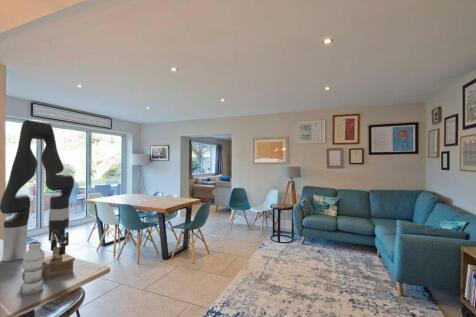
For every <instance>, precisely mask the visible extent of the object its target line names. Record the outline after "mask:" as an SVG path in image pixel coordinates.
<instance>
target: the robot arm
mask: <svg viewBox="0 0 476 317" xmlns="http://www.w3.org/2000/svg"><path fill="white" fill-rule="evenodd" d="M32 140H43V141H44V143H45V146H44V149H43V151H42V152H41V157H40V159H41V164H42V165H43V167H44V170H45V187H46V188H47V189H48V190H50V191H60V192H59V193H57V194H54V195H52V196H51V197H50V200H49V213H48V242H50V252H53V248H54V247H58V246H59V255H64V254H65V253H66V248H67V246H69V244H70V241H69V236H70V235H69V234H70V233H69V231H66V230H65V229H66V228H68V227H70V226H69V225H70V206H69V205H70V197H71V195H72V192H73V188H74V186H75V180H74V179H75V178H74V177H73V176H72V175H71V174H60V173H62V172H63V171H64V169H65V168H64V164H63V162H62V159H61V157H60V154H59V151H58V148H57V141H56V137H55V132H54V129H53V126H52V124H50V122H48V121H44V120H43V121H42V120H36V119H26V120H24V121H23V122H22V125H21V129H20V134H19V139H18V146H17V150H16V153H15V157H14V159H13V162H12V167H11V169H10V170H11V171H10V173H9V174H10V175H9V178H8V182H7V185H6V188H5V190H4V191H3V195H2V197H1V200H0V212H1V213H2V214H3V215H8V214H10V215H11V214H15V215H14V216H12V217H10V218H8V219H6V220H5V221H4V223H3V231H2V232H3V233H2V234H3V236H2V257H1V261H2V262H6V263H9V262H16V261H19V260H20V261H21V260H23V257H24V255H25V254H26V252H27V251H28V250H27V249H28V225H29V223H28V222H29V217H30V209H31V198H30V196H29V195H28V194H18V192H19V191H20V190H21V189H22V188H23V186H25V185H26V184H27V183H29V182H30V181H31V180H32V179H33V178H34V176H35V174H36V171H37V168H38V165H39V164H38V160H37V158H36V156H35V154H34V153H33V150H32V147H31V146H32V145H31V144H32Z"/></svg>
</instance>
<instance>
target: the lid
mask: <svg viewBox="0 0 476 317" xmlns="http://www.w3.org/2000/svg"><path fill="white" fill-rule="evenodd" d="M71 261H73V262H74V261H76V257H74V256H72V255H70V254H68V253H66V252H65V254H64V255H59V245H57V247H54V248H53V251H52V255H49V256H46V257H45V256H44V260H43V264H44V265H45V266H47V267H49V268H52V267H55V266H58V265H62V264H65V263H68V262H71Z"/></svg>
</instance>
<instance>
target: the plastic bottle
mask: <svg viewBox="0 0 476 317" xmlns="http://www.w3.org/2000/svg"><path fill="white" fill-rule="evenodd" d="M41 244H42V242H41V241H31V242H29V243H28V246H27V249H28V250H26V254H25V255H24V257H23V258H22V260H23V261H24V267H25V269H24V270H25V277H24V281H23V283H22V285H21V286H22V287H21V292H22V294H23V295H24V296H25V295H26V296H31V295H36V294H38V293H39V292H42V290H43V289H44V278H43V275H42V267H43V260H44V258H45V252H44V250H42V248H41V246H42V245H41Z"/></svg>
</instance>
